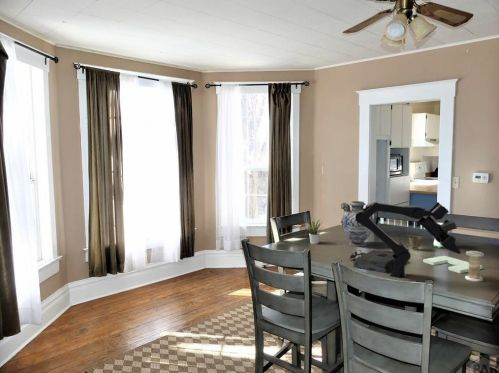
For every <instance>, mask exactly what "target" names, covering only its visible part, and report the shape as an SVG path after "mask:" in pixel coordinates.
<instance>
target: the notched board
mask: <svg viewBox="0 0 499 373" xmlns="http://www.w3.org/2000/svg"><path fill="white" fill-rule="evenodd" d="M422 259H423V258H422ZM422 262H423V263H425V264H429V265H432V266H436V265H441V264H442V265H443V264H451V265H452V266H448V267H447V268H448V271H451V272H455V273H458V274H464V273H469V261H467V260H466V261H465V260H461V259H458V258H455V257H451V256H447V255H441V256H434V257H429V258H424V259H423V260H422ZM482 269H483V265H481V264H480V270H482Z"/></svg>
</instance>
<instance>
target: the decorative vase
mask: <svg viewBox="0 0 499 373" xmlns="http://www.w3.org/2000/svg"><path fill="white" fill-rule="evenodd" d="M372 203H373V202H369V203H367V204H366V203H365V201H363V200H362V201H360V200H358V201H357V200H356V201H355V200H354V201H353V200H352V201H351V203H346V202H342V203H341V204H340V209H342V210H343V212H342V218H341V221H340V223H341V226H342V227H343V233H344V234H345V236H346V238H348V240H349V241H350V242H349V243H348V244H349V246H352V247H359V248H360V247H366V246H367V243H366V240H367V239H369V237H370V235H371V233H372V231H371V230H370V229H368V228H366V227H364V226H363V225H361V224H359V223H358V222H357V221H356V219H355V213H356V212H357V211H359V210H363V209H364V208H366V207H368V206H369V205H371V204H372ZM373 216H374V214H373V215H372V216H371V217H370V218H371V220H372V221H373V222H374V223H375V220H374V218H373Z"/></svg>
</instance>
